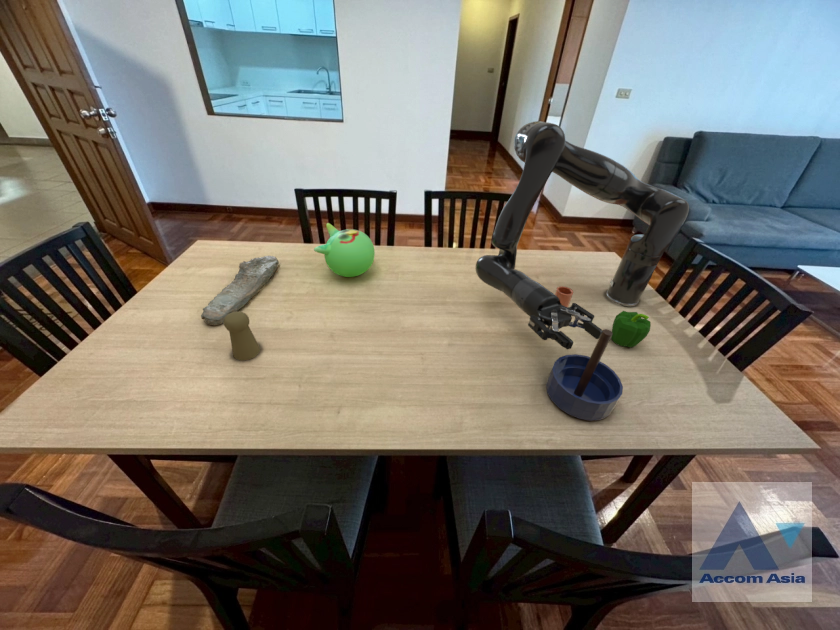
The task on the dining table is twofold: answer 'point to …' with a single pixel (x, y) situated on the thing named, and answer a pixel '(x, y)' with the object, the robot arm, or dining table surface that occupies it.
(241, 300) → the long grey stone
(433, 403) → the dining table surface
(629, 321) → the bell pepper
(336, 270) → the toy bird
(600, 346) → the stirring stick
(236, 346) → the olive brown pawn
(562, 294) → the utensil cup
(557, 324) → the robot arm
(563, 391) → the blue bowl
